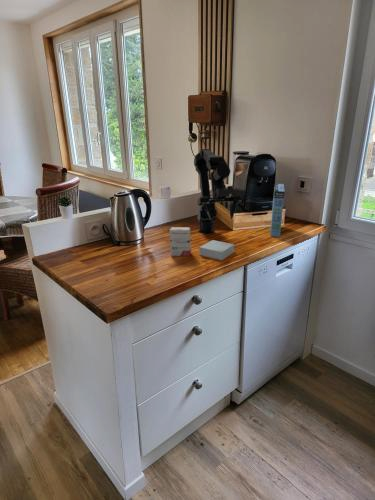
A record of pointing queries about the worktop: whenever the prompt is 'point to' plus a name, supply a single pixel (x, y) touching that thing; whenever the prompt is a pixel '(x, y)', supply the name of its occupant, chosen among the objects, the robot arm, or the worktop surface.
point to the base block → (216, 249)
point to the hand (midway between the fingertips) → (221, 219)
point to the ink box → (180, 241)
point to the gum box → (277, 210)
